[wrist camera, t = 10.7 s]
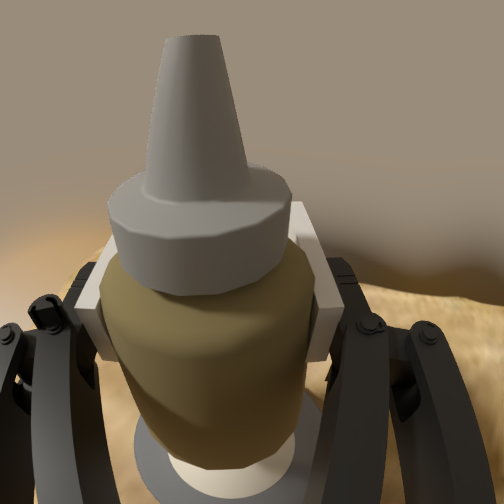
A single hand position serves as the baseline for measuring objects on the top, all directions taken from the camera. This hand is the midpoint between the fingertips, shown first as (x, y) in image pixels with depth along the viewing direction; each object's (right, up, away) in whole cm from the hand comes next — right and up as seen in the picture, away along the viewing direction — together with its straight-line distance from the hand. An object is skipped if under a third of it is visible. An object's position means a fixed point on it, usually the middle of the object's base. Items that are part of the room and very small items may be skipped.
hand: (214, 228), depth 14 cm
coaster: (0, -15, +5) cm, 16 cm away
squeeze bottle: (0, -11, +2) cm, 11 cm away
